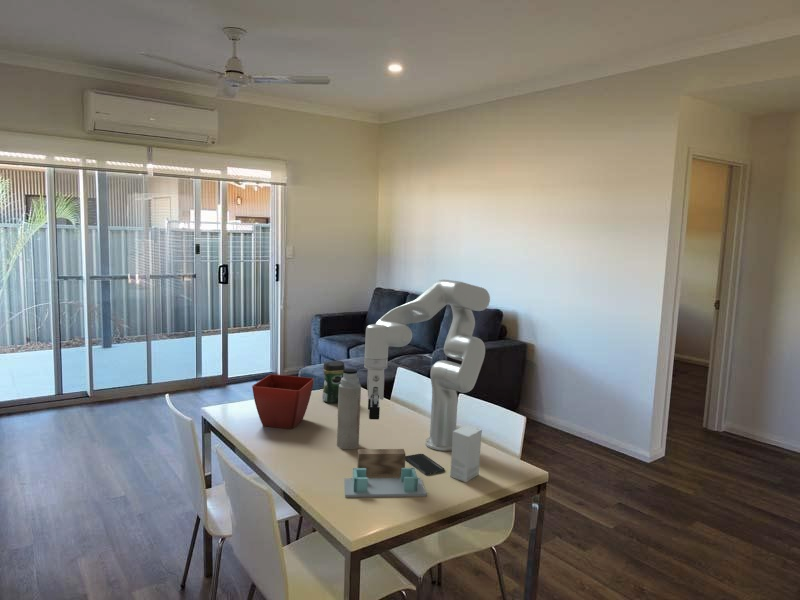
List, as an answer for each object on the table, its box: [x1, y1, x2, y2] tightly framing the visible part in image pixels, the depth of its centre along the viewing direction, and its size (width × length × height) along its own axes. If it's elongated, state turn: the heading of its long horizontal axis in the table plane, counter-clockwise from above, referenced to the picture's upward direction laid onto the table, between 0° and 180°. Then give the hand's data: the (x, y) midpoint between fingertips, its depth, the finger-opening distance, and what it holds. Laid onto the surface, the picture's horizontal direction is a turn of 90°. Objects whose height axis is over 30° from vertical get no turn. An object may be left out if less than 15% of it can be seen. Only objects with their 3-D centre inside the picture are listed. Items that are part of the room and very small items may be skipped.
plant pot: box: [251, 373, 315, 430], centre depth 222 cm, size 19×19×17 cm
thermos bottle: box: [336, 368, 362, 450], centre depth 201 cm, size 8×8×28 cm
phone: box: [405, 453, 446, 476], centre depth 188 cm, size 8×1×15 cm
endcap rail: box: [343, 467, 427, 498], centre depth 169 cm, size 24×11×5 cm, turn 97°
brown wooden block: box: [356, 448, 406, 476], centre depth 181 cm, size 15×4×7 cm, turn 98°
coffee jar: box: [322, 360, 346, 404], centre depth 254 cm, size 10×8×19 cm
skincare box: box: [449, 424, 483, 483], centre depth 180 cm, size 8×7×16 cm
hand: (373, 414), depth 182 cm, fingers open, 9 cm apart
